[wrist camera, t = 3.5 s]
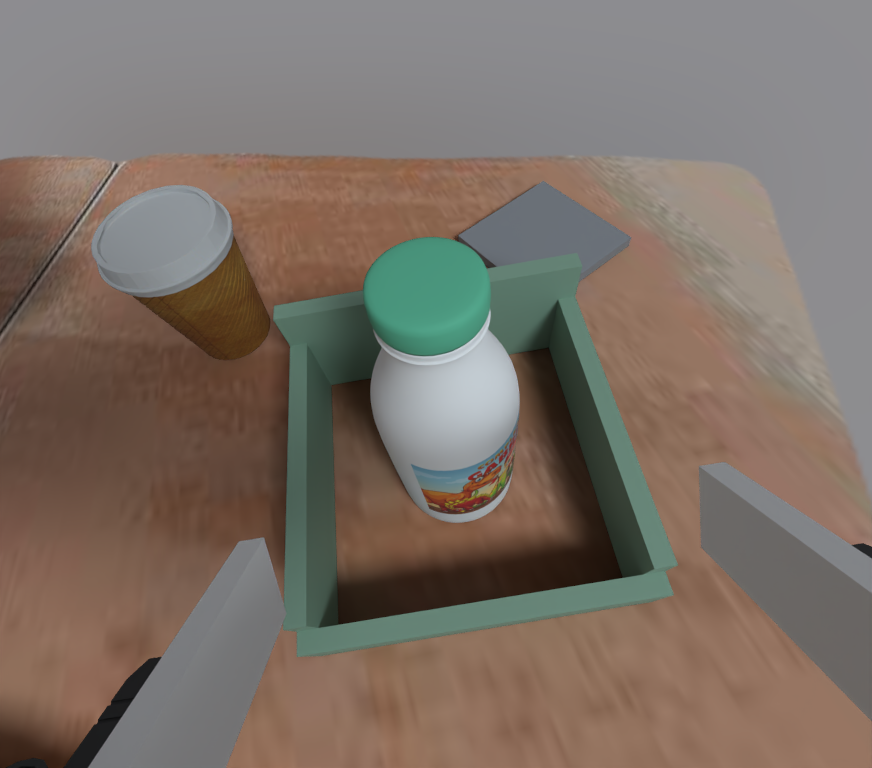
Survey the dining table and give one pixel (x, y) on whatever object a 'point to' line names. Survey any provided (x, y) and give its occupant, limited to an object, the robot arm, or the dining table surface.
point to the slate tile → (544, 232)
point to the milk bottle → (441, 378)
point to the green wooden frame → (518, 332)
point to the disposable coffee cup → (184, 268)
